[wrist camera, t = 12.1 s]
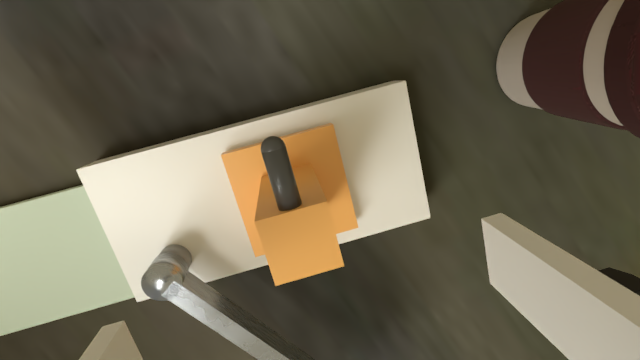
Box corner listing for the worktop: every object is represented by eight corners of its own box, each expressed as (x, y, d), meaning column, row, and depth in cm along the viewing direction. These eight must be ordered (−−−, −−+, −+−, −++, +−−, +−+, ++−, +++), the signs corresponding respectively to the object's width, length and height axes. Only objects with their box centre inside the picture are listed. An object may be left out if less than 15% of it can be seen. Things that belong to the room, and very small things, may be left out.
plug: (258, 234, 31) (246, 334, 19) (222, 127, 29) (182, 162, 16) (347, 208, 32) (394, 290, 19) (321, 101, 29) (354, 115, 17)
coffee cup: (600, 93, 32) (869, 103, 17) (495, 140, 32) (677, 189, 17) (577, -26, 29) (875, -131, 15) (463, 26, 29) (648, -28, 15)
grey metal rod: (143, 271, 26) (132, 286, 24) (166, 245, 26) (157, 258, 24) (348, 410, 32) (353, 431, 30) (369, 390, 31) (375, 410, 29)
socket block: (149, 282, 31) (130, 312, 27) (96, 160, 28) (65, 174, 24) (416, 205, 32) (437, 223, 28) (393, 80, 29) (412, 80, 25)
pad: (0, 330, 31) (-9, 338, 30) (-64, 224, 28) (-76, 229, 27) (140, 290, 32) (136, 296, 31) (91, 182, 29) (85, 185, 28)
